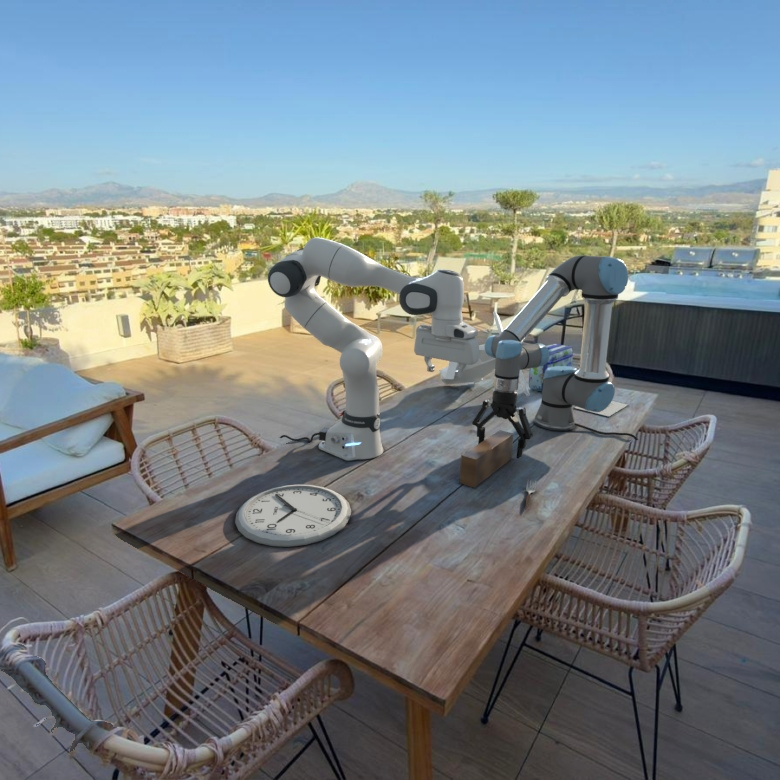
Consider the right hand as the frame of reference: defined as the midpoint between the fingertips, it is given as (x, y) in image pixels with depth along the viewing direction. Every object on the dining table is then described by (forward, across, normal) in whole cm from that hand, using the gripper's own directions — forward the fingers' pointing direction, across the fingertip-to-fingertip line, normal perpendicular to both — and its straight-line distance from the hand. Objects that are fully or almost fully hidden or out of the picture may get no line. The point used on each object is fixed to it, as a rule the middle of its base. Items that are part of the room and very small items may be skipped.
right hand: (499, 451), depth 171 cm
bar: (+3, 0, -9) cm, 10 cm away
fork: (+3, +18, -18) cm, 25 cm away
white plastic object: (+3, -40, +63) cm, 75 cm away
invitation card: (+3, +11, +79) cm, 79 cm away
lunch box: (+3, -17, +90) cm, 92 cm away
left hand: (-28, -11, -19) cm, 36 cm away
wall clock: (+4, -28, -65) cm, 71 cm away
